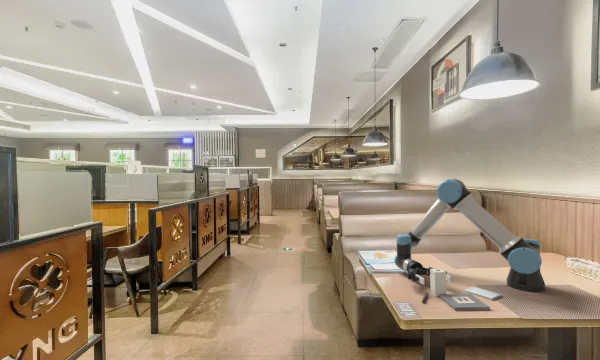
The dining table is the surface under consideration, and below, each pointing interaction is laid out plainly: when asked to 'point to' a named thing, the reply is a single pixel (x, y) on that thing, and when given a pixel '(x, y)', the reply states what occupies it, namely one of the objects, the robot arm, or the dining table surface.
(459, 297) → the plate
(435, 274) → the charger brick
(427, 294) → the dark grey rod
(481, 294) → the hard drive
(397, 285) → the dining table surface
